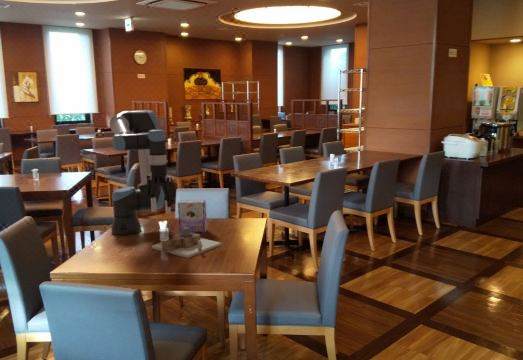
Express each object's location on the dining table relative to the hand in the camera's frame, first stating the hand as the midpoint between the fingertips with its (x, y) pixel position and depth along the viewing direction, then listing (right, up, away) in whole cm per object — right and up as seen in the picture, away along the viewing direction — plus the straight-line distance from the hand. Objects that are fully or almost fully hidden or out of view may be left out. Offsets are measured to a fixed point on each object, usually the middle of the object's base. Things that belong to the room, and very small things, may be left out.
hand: (161, 212), depth 215 cm
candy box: (+11, -12, +30) cm, 34 cm away
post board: (+11, -16, +5) cm, 20 cm away
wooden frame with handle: (+8, -16, +1) cm, 18 cm away
